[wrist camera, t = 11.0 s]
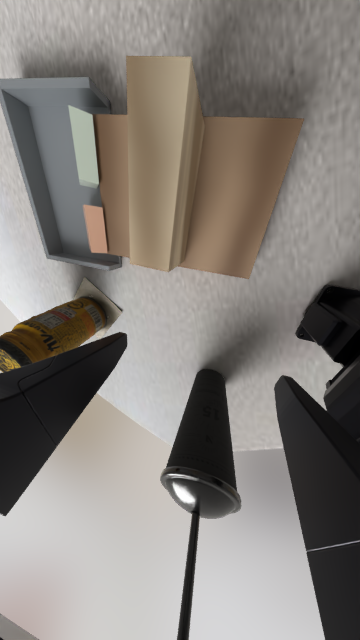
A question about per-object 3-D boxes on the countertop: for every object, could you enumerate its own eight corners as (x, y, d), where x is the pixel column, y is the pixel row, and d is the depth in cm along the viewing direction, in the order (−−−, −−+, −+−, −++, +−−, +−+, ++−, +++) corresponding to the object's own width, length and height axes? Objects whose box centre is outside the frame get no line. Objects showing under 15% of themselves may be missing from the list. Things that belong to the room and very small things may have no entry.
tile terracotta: (102, 207, 15) (83, 204, 14) (107, 253, 17) (91, 252, 16) (98, 208, 18) (82, 206, 17) (102, 247, 20) (89, 246, 19)
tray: (109, 101, 14) (88, 76, 11) (121, 267, 21) (109, 270, 18) (26, 100, 15) (-7, 78, 13) (64, 256, 22) (46, 258, 20)
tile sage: (92, 115, 12) (68, 104, 11) (99, 183, 14) (78, 179, 13) (90, 134, 15) (71, 127, 14) (96, 188, 17) (80, 185, 16)
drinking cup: (232, 398, 27) (243, 674, 10) (189, 391, 29) (138, 612, 12) (235, 365, 24) (262, 705, 7) (186, 360, 26) (109, 609, 9)
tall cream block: (204, 126, 11) (191, 56, 7) (184, 261, 15) (168, 272, 11) (158, 123, 11) (118, 55, 7) (151, 255, 16) (125, 262, 12)
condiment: (67, 310, 27) (-27, 356, 17) (85, 276, 23) (-27, 311, 13) (100, 338, 28) (31, 396, 18) (123, 311, 24) (49, 368, 14)
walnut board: (287, 142, 12) (304, 118, 10) (245, 272, 17) (248, 279, 15) (115, 135, 14) (91, 114, 12) (122, 251, 20) (107, 253, 17)
